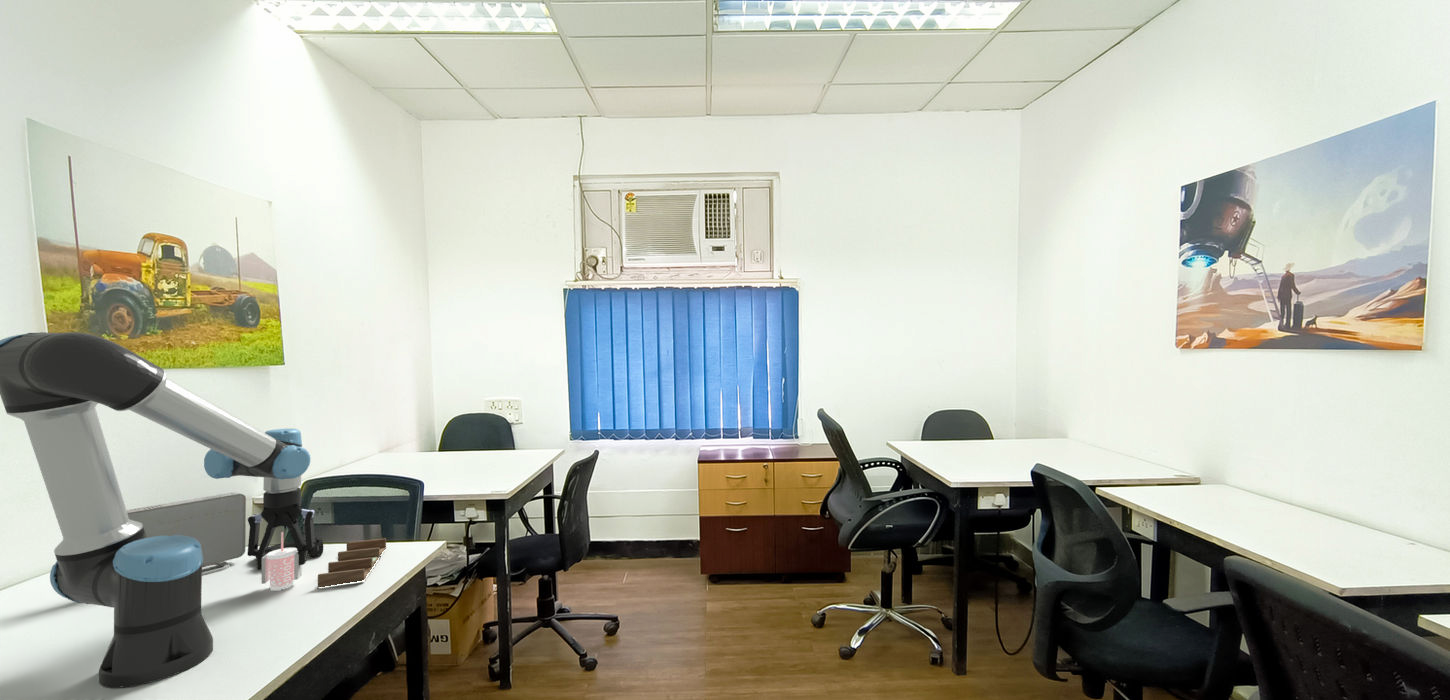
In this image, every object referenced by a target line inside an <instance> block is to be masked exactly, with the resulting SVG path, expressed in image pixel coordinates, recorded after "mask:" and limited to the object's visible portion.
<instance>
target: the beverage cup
mask: <svg viewBox="0 0 1450 700" xmlns="http://www.w3.org/2000/svg"><path fill="white" fill-rule="evenodd" d="M283 543H284V531H281V532H280V544H281V549H278V550H274V551H271V552H269V553H268V554H267V559H268V562H269V576H270V580H269V584H270V585H269V587H270V588H269V589H270V591H272V590H278V591H282V590H281V589H283V590H286V589H285V588H287V589H289V588H291V587H293V586H292V585H294V583H295V582H294V554H295V553H296V552H298V551H297V548H283ZM290 586H291V587H290ZM288 587H289V588H288Z"/></svg>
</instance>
